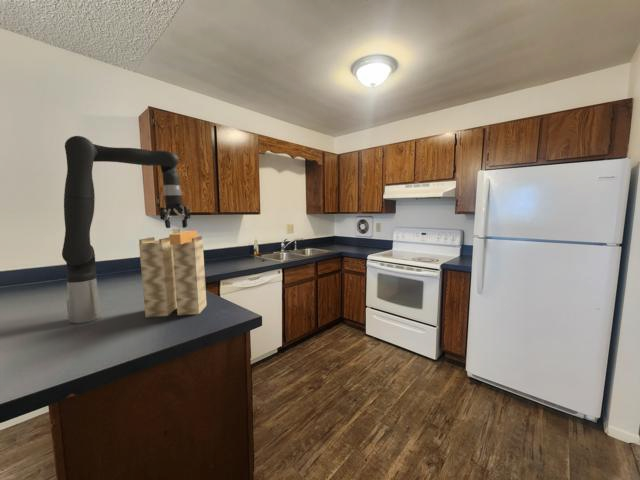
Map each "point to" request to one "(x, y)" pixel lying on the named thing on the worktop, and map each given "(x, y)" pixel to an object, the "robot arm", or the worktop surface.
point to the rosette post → (158, 276)
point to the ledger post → (189, 277)
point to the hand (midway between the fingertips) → (176, 227)
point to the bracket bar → (182, 237)
